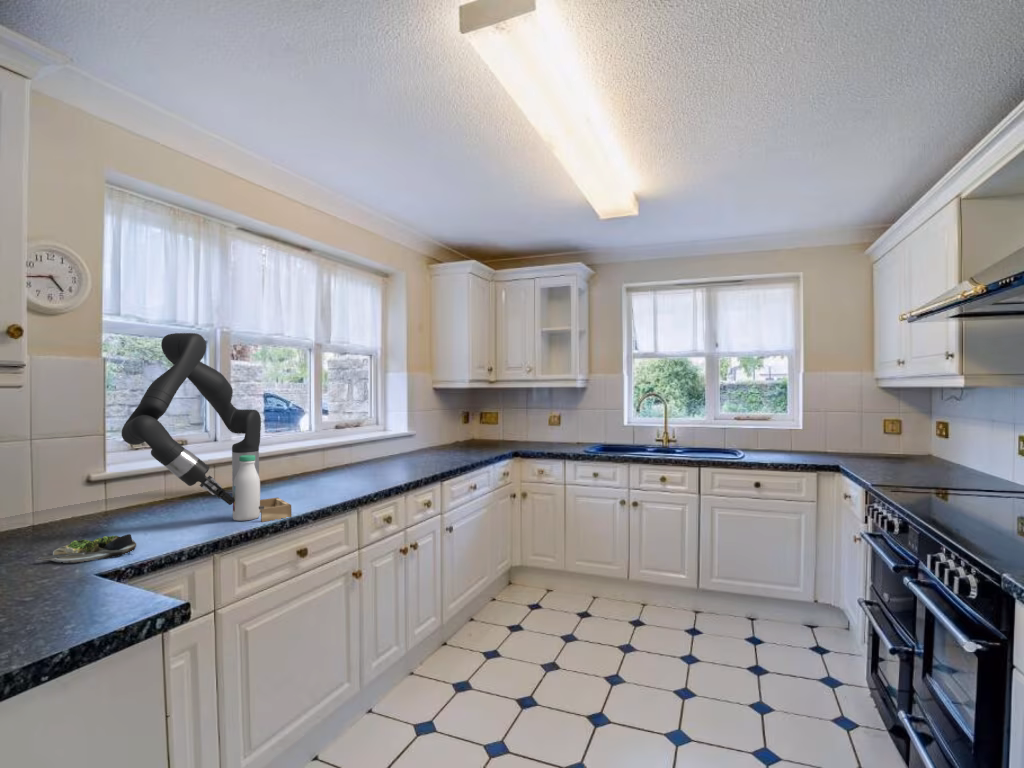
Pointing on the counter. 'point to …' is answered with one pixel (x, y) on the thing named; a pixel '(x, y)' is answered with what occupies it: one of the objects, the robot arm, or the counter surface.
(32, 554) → the counter surface
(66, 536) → the counter surface
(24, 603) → the counter surface
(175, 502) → the counter surface
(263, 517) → the light brown wooden box
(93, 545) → the salad plate
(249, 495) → the milk bottle
